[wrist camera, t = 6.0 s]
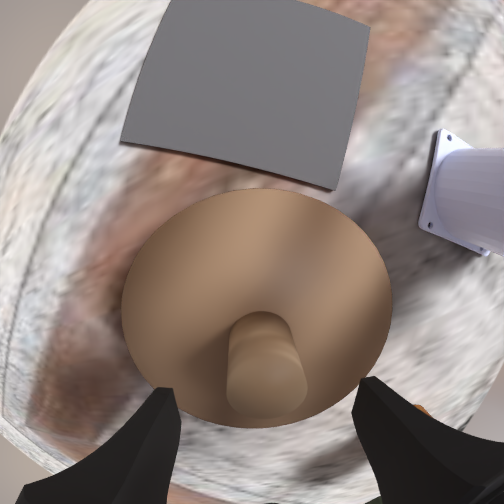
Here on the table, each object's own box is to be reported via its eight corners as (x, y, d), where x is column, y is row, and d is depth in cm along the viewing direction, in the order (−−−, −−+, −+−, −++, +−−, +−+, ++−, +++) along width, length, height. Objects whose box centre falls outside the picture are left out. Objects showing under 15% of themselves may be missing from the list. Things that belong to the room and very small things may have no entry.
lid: (418, 229, 13) (478, 253, 8) (332, 424, 17) (350, 477, 12) (144, 161, 12) (95, 155, 7) (126, 394, 15) (103, 448, 11)
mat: (368, 29, 14) (370, 27, 14) (333, 190, 17) (335, 190, 17) (181, -14, 13) (180, -17, 13) (122, 141, 16) (120, 140, 16)
